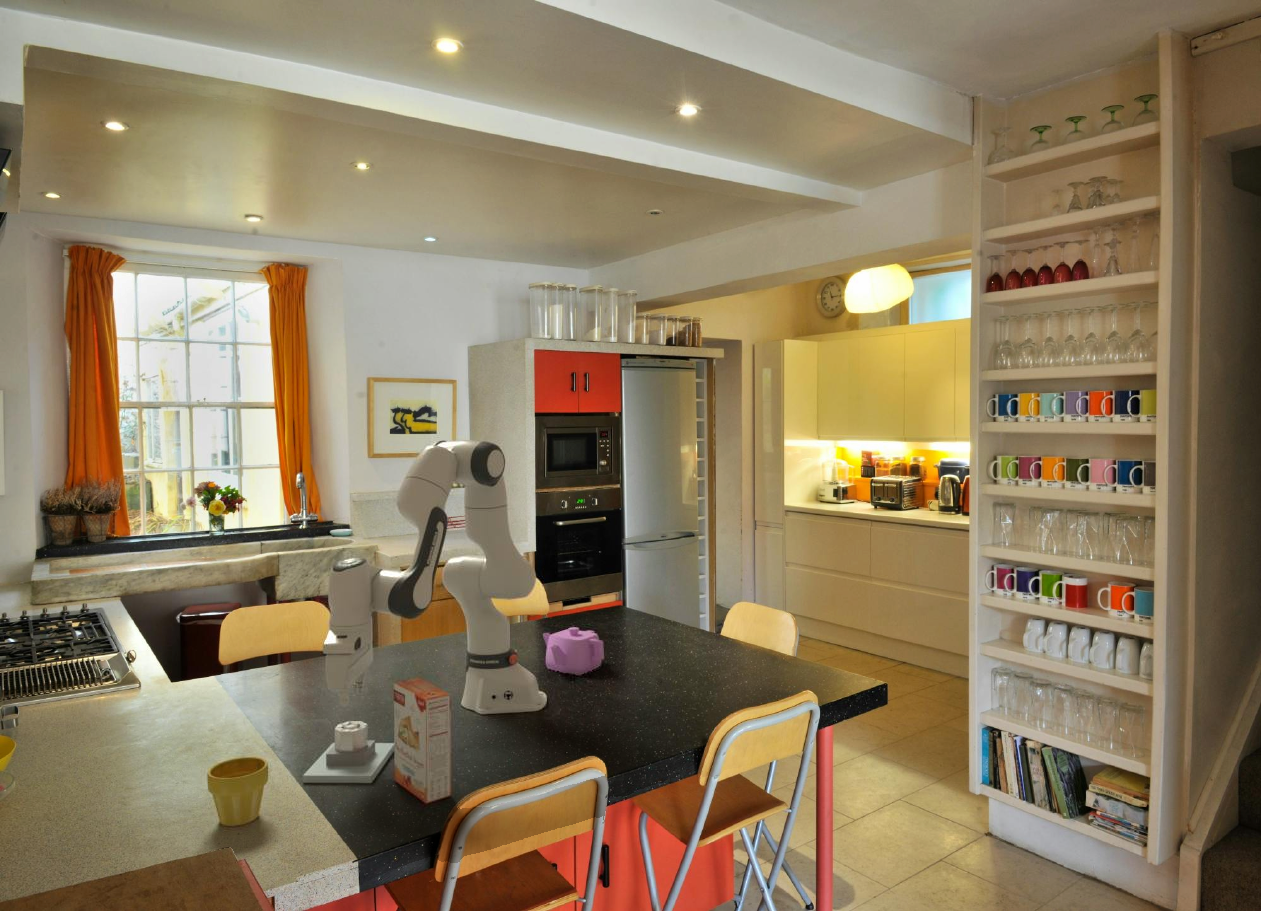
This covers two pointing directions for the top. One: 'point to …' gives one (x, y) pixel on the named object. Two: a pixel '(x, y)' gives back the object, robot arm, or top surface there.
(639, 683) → the top surface
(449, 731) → the cracker box
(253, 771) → the plant pot
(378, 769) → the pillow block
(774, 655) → the top surface
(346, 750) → the ring
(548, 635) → the teakettle
